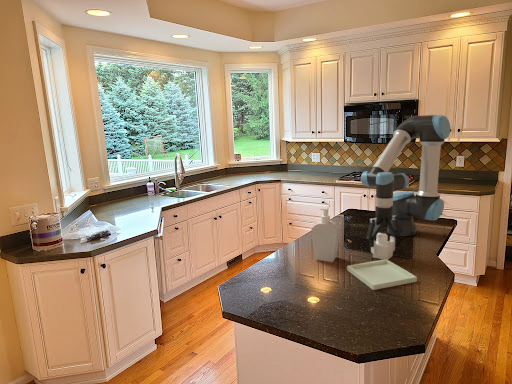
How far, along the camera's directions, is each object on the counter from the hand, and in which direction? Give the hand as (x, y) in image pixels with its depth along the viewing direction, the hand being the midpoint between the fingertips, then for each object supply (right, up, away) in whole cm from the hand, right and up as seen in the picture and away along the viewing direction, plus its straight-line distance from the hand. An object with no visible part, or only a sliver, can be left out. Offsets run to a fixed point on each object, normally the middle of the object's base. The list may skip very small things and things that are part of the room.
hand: (382, 251), depth 171 cm
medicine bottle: (0, -3, +1) cm, 3 cm away
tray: (-8, -7, -19) cm, 22 cm away
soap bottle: (-26, -4, +3) cm, 27 cm away
